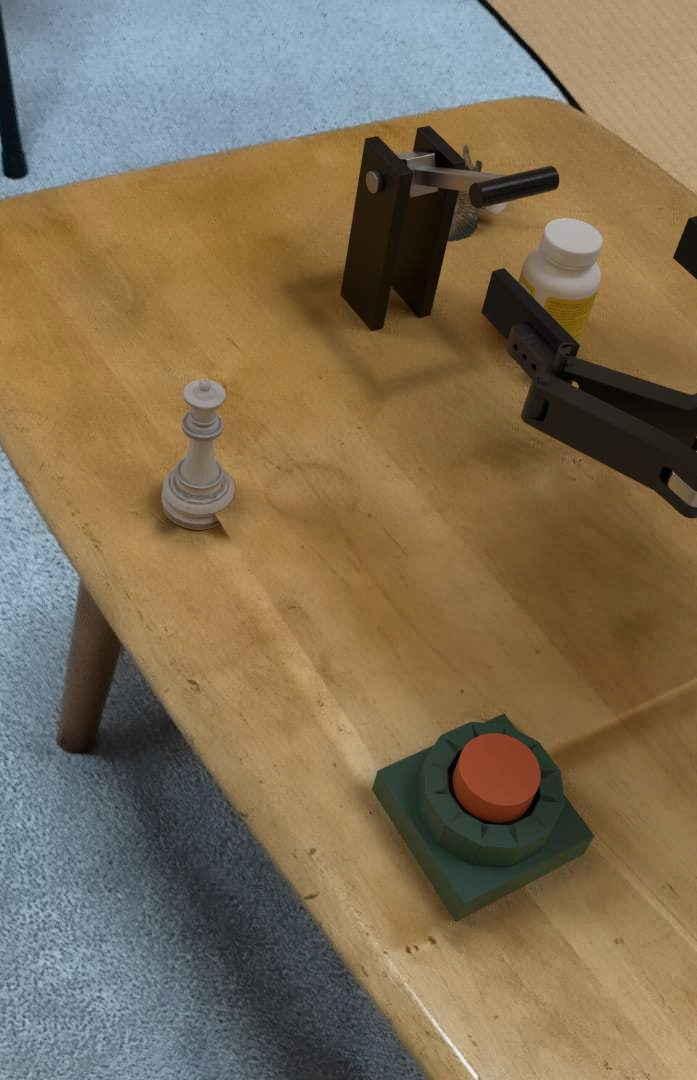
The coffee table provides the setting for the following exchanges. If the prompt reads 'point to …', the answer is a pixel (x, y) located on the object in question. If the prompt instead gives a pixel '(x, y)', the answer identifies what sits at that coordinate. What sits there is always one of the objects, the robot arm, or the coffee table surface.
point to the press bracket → (397, 231)
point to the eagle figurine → (469, 206)
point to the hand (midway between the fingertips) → (592, 262)
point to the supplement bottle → (565, 272)
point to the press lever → (477, 181)
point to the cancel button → (496, 778)
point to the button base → (478, 823)
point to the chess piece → (199, 463)
